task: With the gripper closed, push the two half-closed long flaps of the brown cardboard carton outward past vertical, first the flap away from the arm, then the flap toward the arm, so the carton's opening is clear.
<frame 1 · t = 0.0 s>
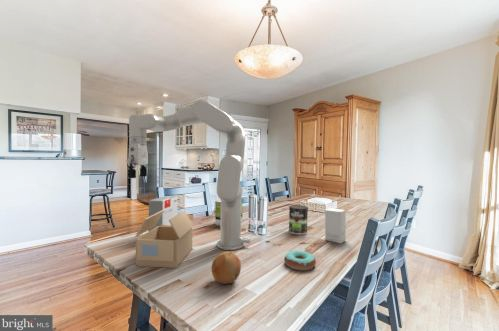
hand: (138, 177, 117), 31 cm above the table, tool pointing down, fingers open, 9 cm apart
flap 2: (182, 223, 99), point 14 cm above the table, hinge at -30.0°
skincare box: (334, 240, 123), on the table
flap 1: (150, 222, 100), point 14 cm above the table, hinge at -30.0°
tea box: (229, 223, 152), on the table
hard drive box: (163, 237, 125), on the table
donut: (299, 265, 95), on the table
onion: (226, 282, 81), on the table
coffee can: (298, 232, 136), on the table
carton: (166, 256, 100), on the table
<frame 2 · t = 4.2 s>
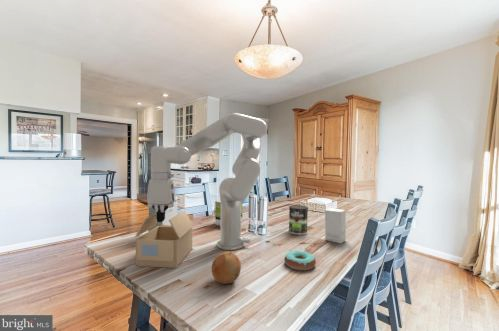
hand: (160, 221, 100), 15 cm above the table, tool pointing down, fingers closed
flap 1: (150, 222, 100), point 14 cm above the table, hinge at -29.8°, touching gripper
everything else where it was.
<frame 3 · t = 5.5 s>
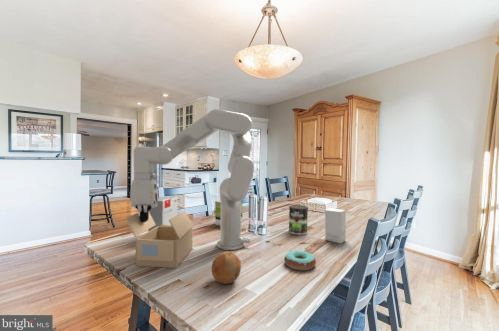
hand: (144, 221, 101), 15 cm above the table, tool pointing down, fingers closed
flap 1: (141, 221, 101), point 14 cm above the table, hinge at 28.4°, touching gripper
everything else where it was.
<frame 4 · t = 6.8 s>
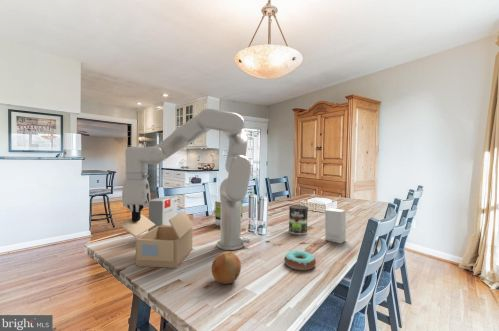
hand: (136, 220, 101), 15 cm above the table, tool pointing down, fingers closed
flap 1: (138, 224, 101), point 13 cm above the table, hinge at 54.9°, touching gripper
everything else where it was.
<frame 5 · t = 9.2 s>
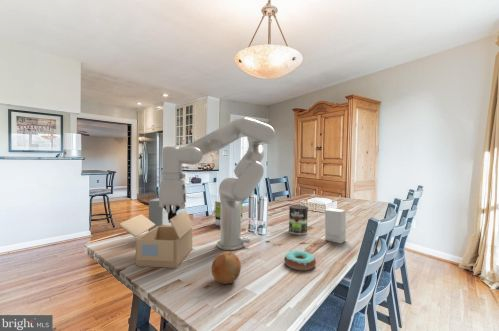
hand: (172, 221, 100), 15 cm above the table, tool pointing down, fingers closed
flap 2: (182, 223, 99), point 14 cm above the table, hinge at -27.5°, touching gripper
flap 1: (138, 224, 101), point 13 cm above the table, hinge at 54.9°
everything else where it was.
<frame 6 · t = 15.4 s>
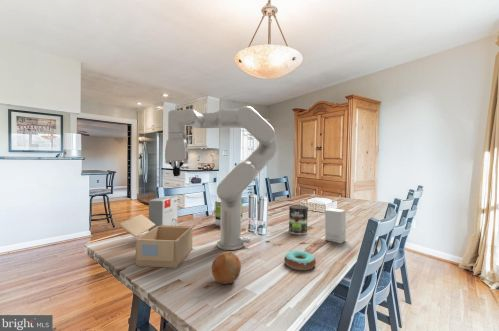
hand: (176, 176, 115), 32 cm above the table, tool pointing down, fingers closed
flap 2: (194, 225, 99), point 13 cm above the table, hinge at 48.6°
everything else where it was.
at the end: flap 1 at +55° (first picture: -30°); flap 2 at +49° (first picture: -30°) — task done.
